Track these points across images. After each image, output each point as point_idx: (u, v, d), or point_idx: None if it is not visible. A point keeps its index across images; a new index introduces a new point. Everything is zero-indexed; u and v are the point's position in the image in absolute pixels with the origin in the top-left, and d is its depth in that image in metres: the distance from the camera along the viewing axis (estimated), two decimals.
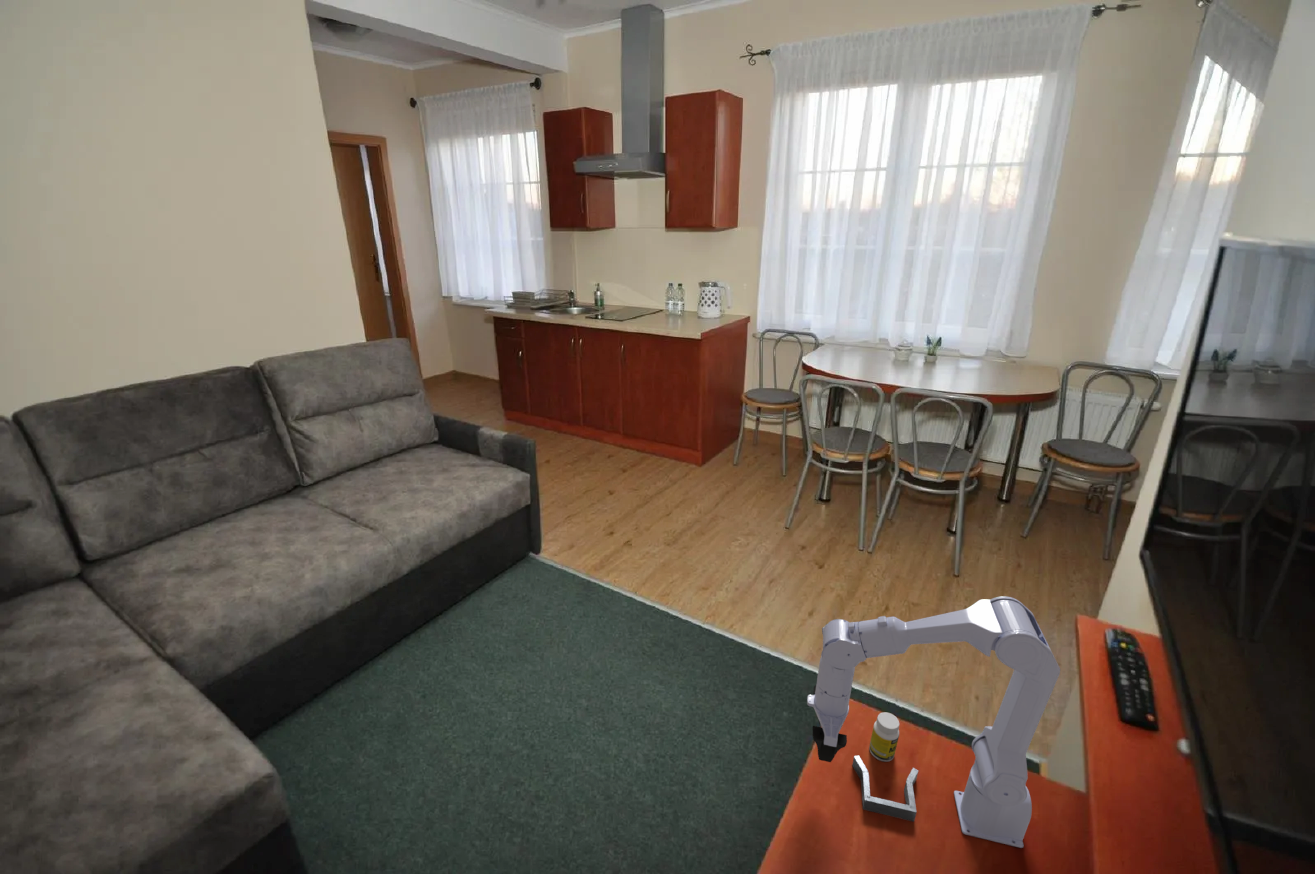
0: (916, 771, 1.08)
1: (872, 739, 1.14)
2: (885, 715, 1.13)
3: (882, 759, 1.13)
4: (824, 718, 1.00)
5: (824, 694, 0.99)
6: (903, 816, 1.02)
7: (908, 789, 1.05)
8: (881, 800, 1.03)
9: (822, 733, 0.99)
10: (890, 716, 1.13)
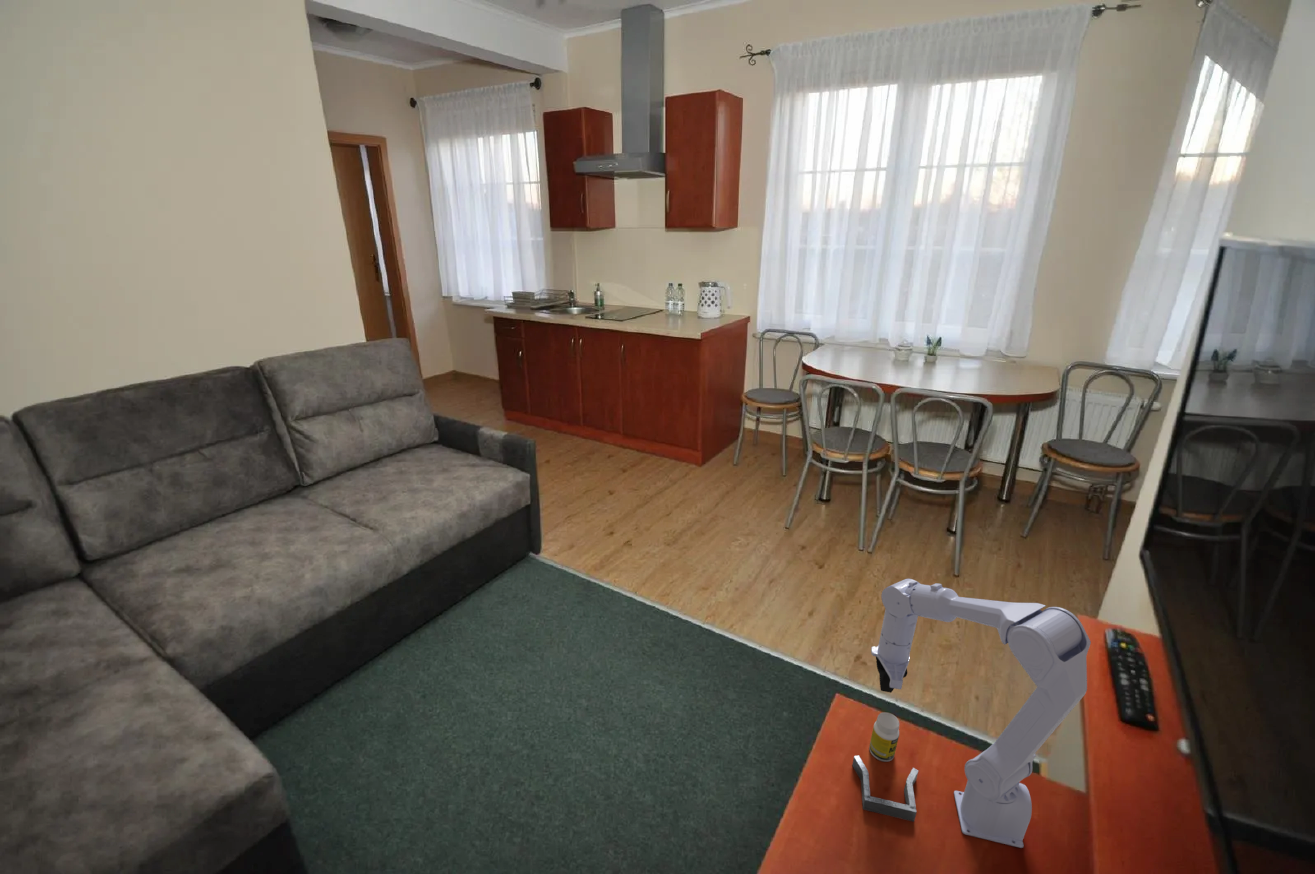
0: (916, 771, 1.08)
1: (872, 739, 1.14)
2: (885, 715, 1.13)
3: (882, 759, 1.13)
4: (888, 665, 1.12)
5: (889, 644, 1.11)
6: (903, 816, 1.02)
7: (908, 789, 1.05)
8: (881, 800, 1.03)
9: None
10: (890, 716, 1.13)
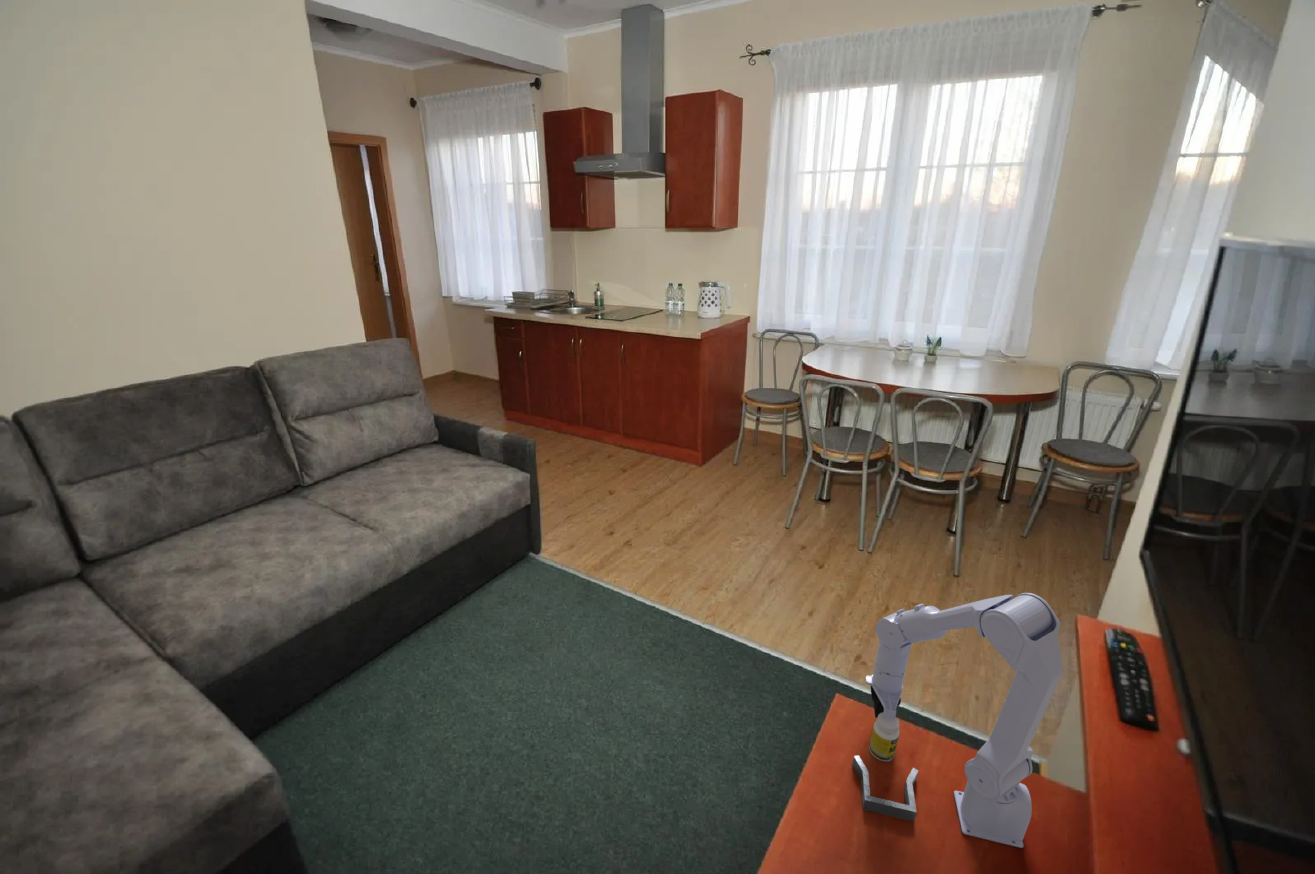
0: (916, 771, 1.08)
1: (872, 739, 1.14)
2: None
3: (882, 759, 1.13)
4: (882, 695, 1.15)
5: (883, 674, 1.14)
6: (903, 816, 1.02)
7: (908, 789, 1.05)
8: (881, 800, 1.03)
9: None
10: None
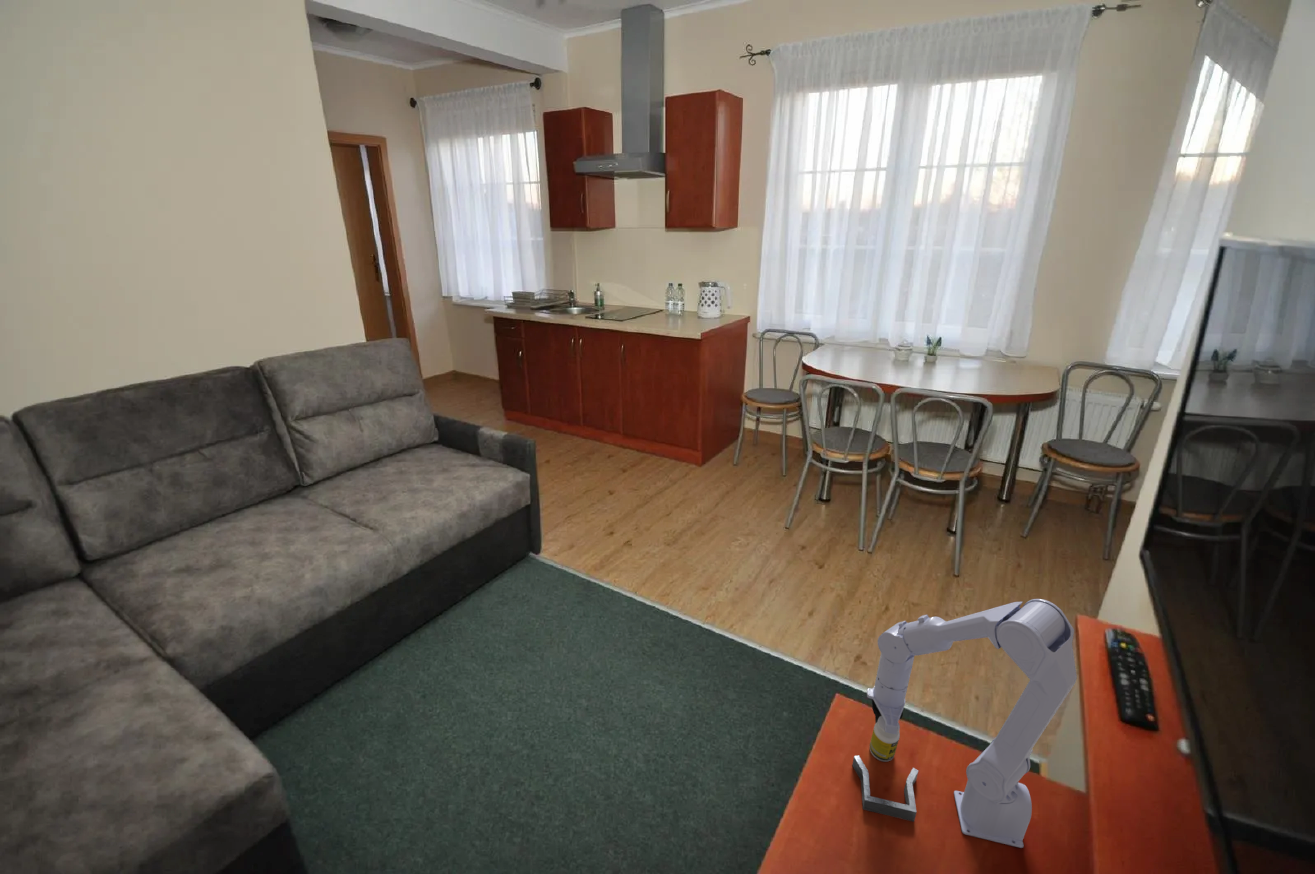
0: (916, 771, 1.08)
1: (872, 740, 1.13)
2: None
3: (882, 759, 1.13)
4: (884, 709, 1.11)
5: (884, 687, 1.11)
6: (903, 816, 1.02)
7: (908, 789, 1.05)
8: (881, 800, 1.03)
9: None
10: None
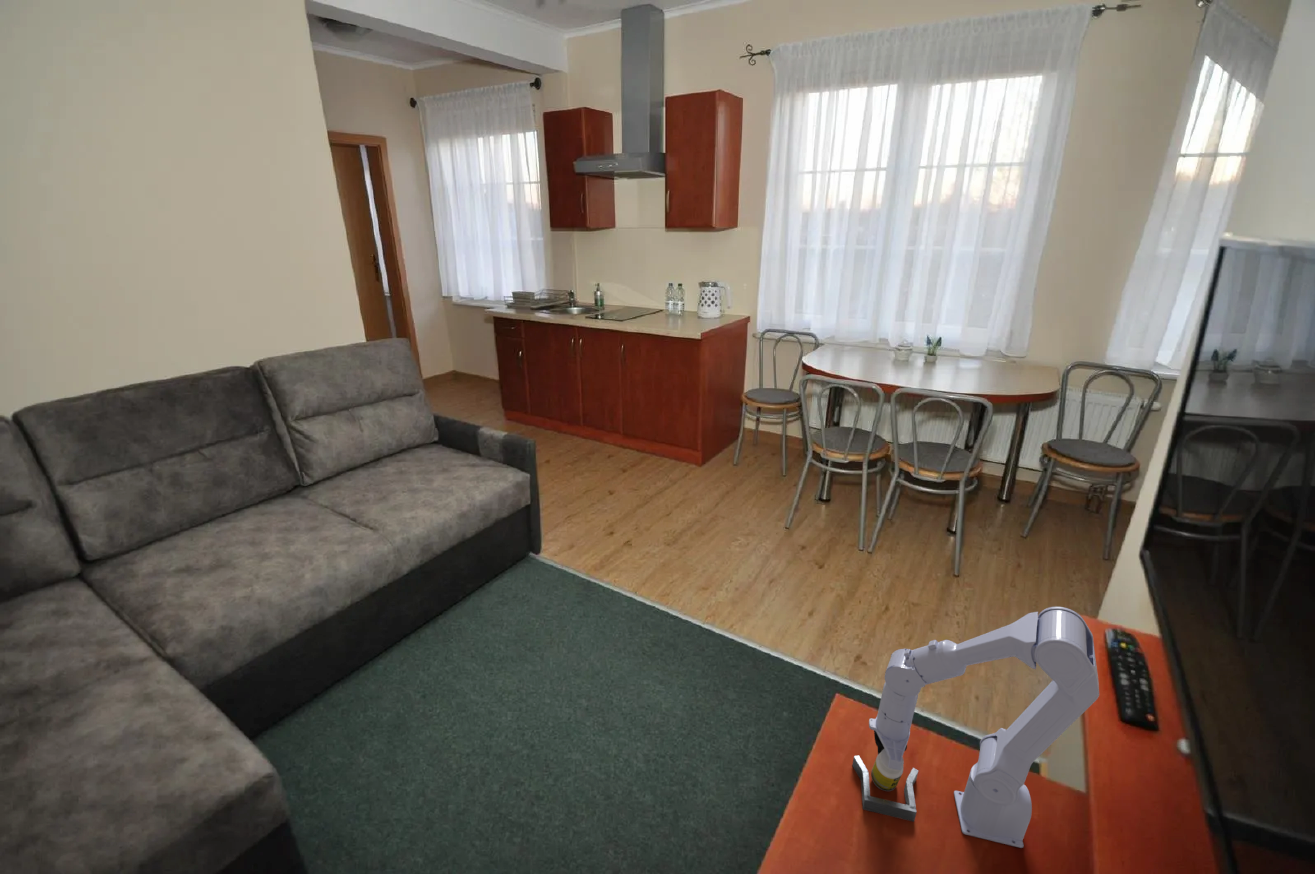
0: (916, 771, 1.08)
1: (874, 771, 1.07)
2: None
3: (884, 789, 1.07)
4: (887, 742, 1.05)
5: (888, 719, 1.04)
6: (903, 816, 1.02)
7: (908, 789, 1.05)
8: (881, 800, 1.03)
9: None
10: None
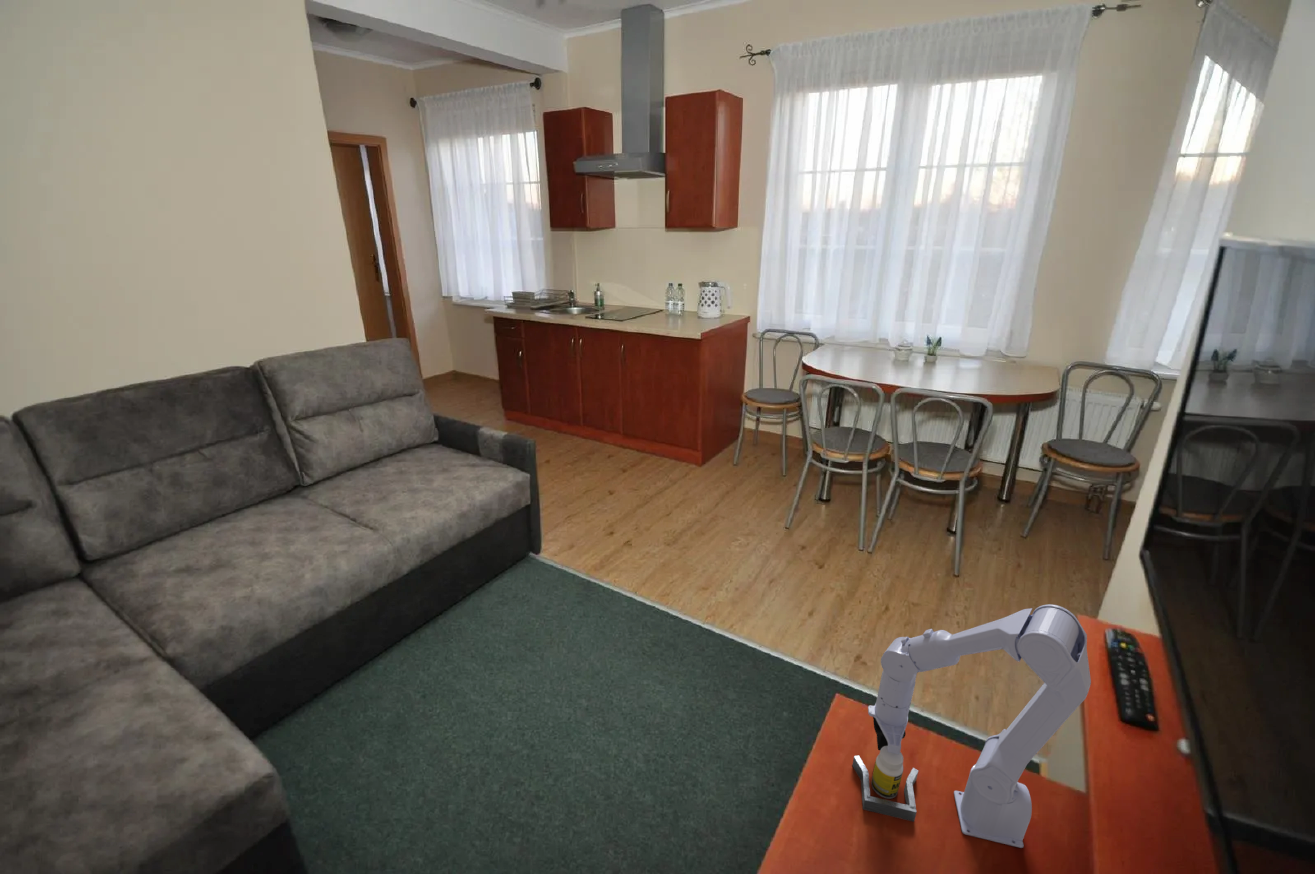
0: (916, 771, 1.08)
1: (874, 774, 1.07)
2: None
3: (884, 796, 1.06)
4: (886, 727, 1.08)
5: (886, 705, 1.07)
6: (903, 816, 1.02)
7: (908, 789, 1.05)
8: (881, 800, 1.03)
9: None
10: None
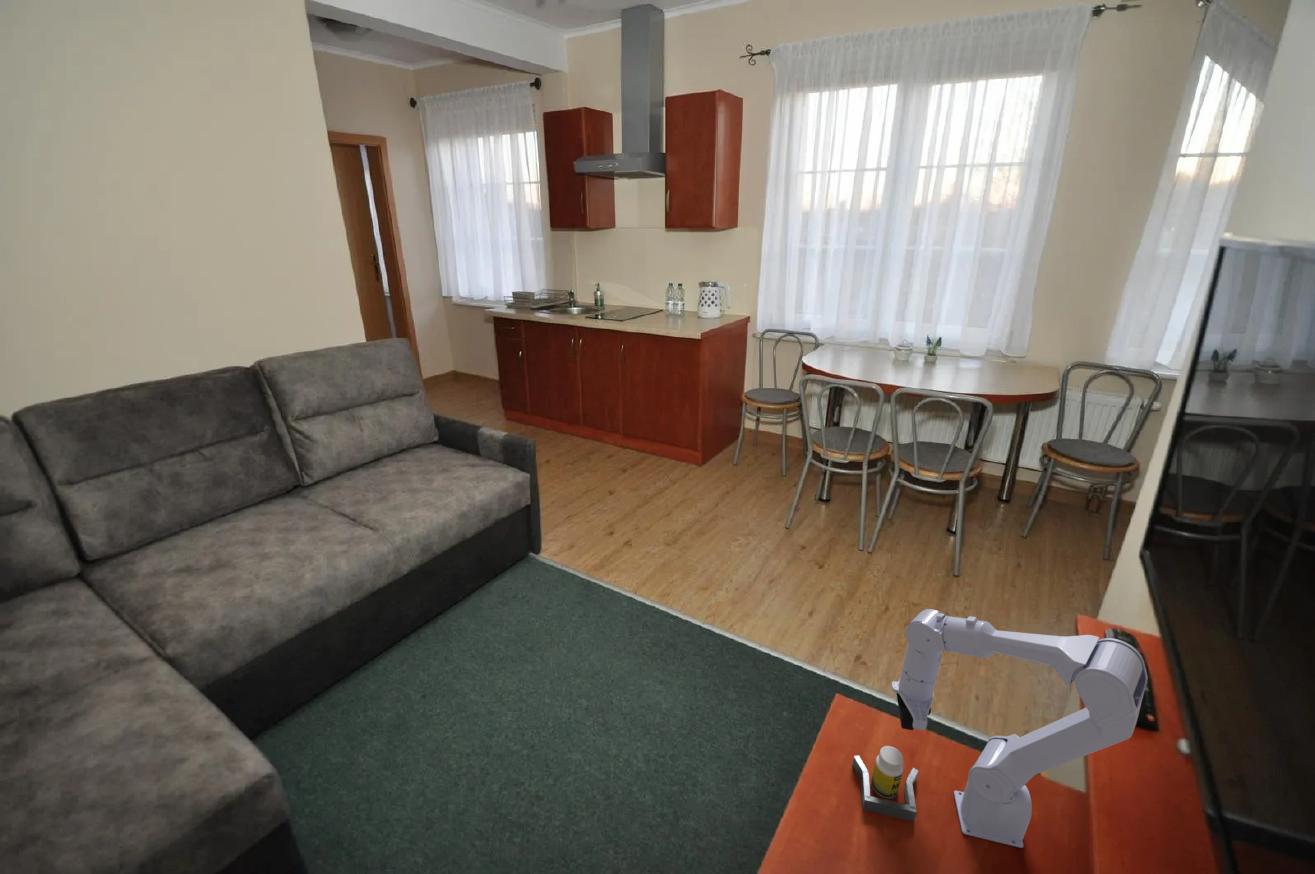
0: (916, 771, 1.08)
1: (874, 774, 1.07)
2: (888, 749, 1.06)
3: (884, 796, 1.06)
4: (911, 703, 1.03)
5: (911, 680, 1.03)
6: (903, 816, 1.02)
7: (908, 789, 1.05)
8: (881, 800, 1.03)
9: None
10: (893, 750, 1.06)
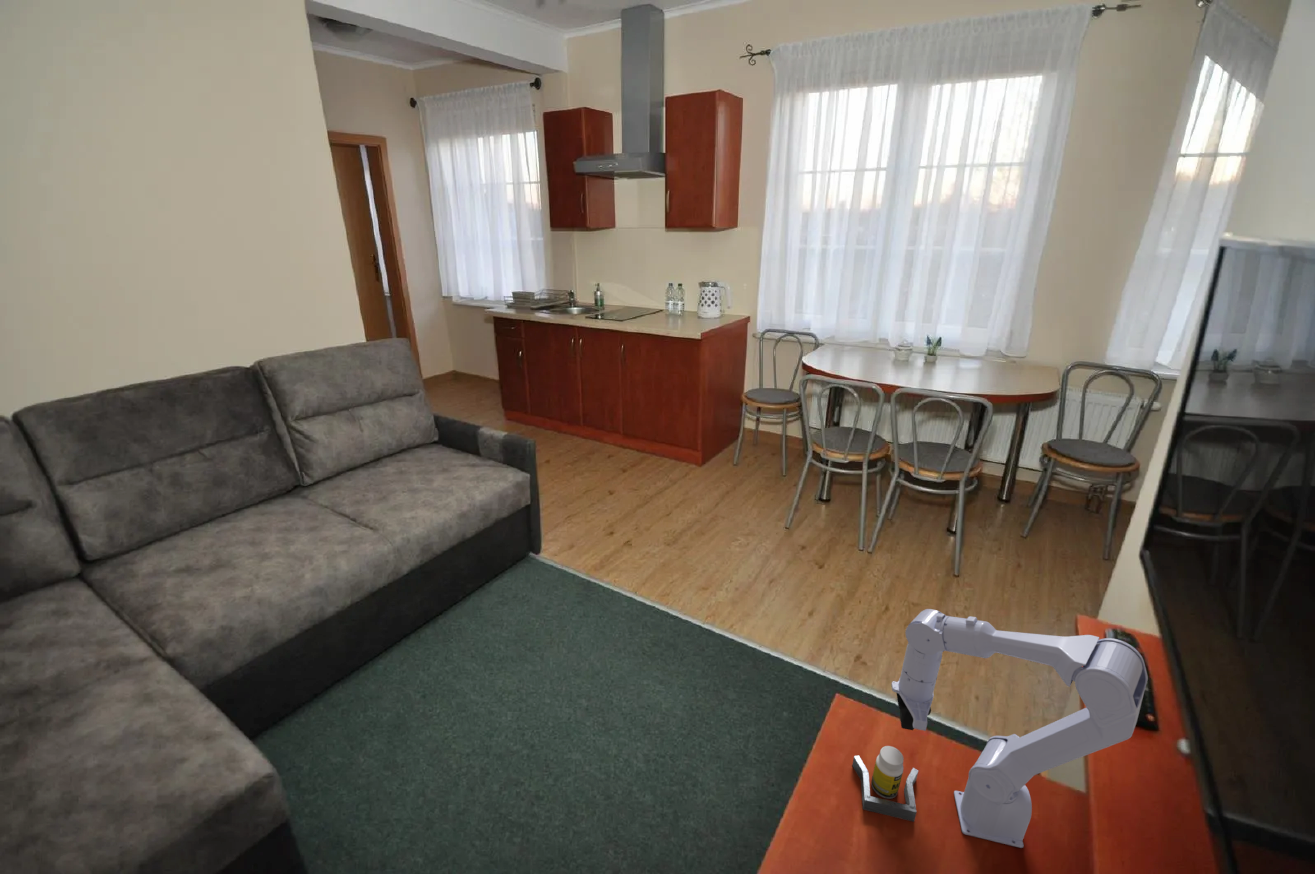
0: (916, 771, 1.08)
1: (874, 774, 1.07)
2: (888, 749, 1.06)
3: (884, 796, 1.06)
4: (911, 703, 1.03)
5: (911, 680, 1.03)
6: (903, 816, 1.02)
7: (908, 789, 1.05)
8: (881, 800, 1.03)
9: None
10: (893, 750, 1.06)
